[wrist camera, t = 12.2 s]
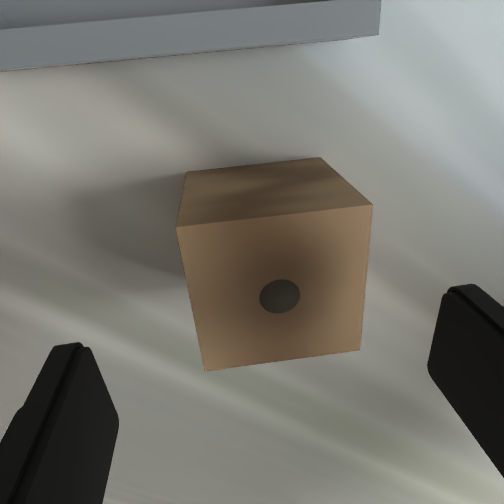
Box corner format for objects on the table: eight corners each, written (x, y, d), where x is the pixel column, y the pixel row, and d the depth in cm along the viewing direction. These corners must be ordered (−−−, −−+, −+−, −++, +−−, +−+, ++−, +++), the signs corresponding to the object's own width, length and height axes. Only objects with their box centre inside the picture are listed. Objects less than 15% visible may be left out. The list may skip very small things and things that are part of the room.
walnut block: (319, 157, 16) (373, 204, 11) (318, 269, 19) (360, 350, 14) (187, 171, 16) (175, 227, 11) (206, 283, 19) (204, 371, 13)
